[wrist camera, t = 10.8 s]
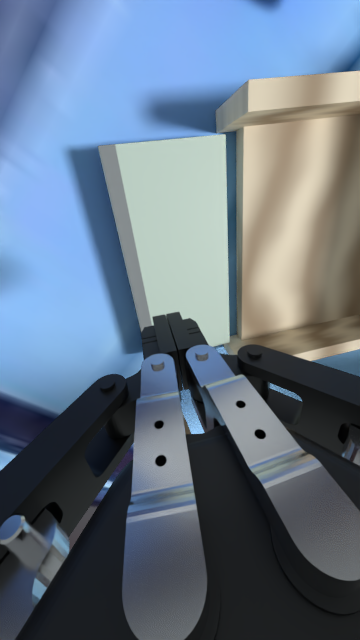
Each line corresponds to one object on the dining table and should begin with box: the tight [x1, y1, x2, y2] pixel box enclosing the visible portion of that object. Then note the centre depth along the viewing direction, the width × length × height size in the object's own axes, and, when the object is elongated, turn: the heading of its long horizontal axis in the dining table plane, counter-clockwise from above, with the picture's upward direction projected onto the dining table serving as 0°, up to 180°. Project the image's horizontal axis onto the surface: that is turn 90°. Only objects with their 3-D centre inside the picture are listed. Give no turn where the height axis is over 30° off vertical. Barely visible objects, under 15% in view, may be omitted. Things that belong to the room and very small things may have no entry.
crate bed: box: [216, 71, 360, 361], centre depth 21 cm, size 22×24×12 cm
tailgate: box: [98, 134, 230, 347], centre depth 23 cm, size 2×20×10 cm
